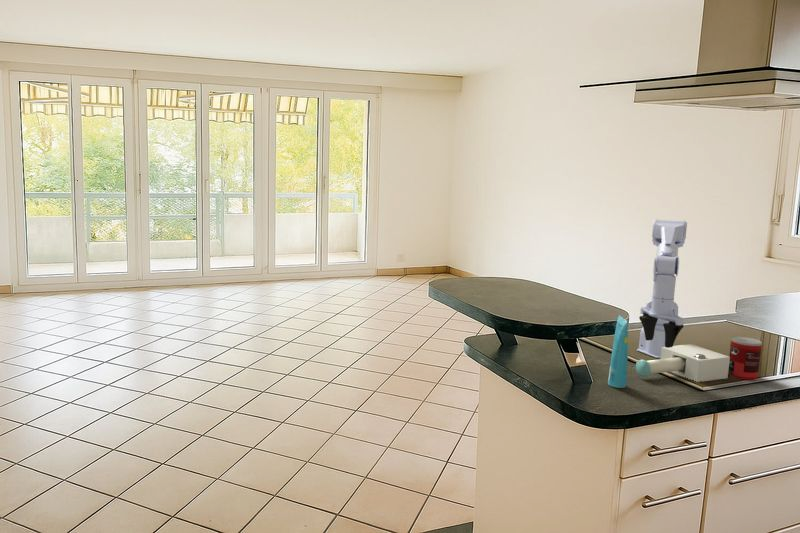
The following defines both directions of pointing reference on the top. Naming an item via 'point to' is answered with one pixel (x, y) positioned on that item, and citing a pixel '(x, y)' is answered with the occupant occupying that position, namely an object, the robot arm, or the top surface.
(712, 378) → the housing
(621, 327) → the tube
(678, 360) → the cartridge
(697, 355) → the plunger
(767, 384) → the top surface
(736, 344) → the canned food
